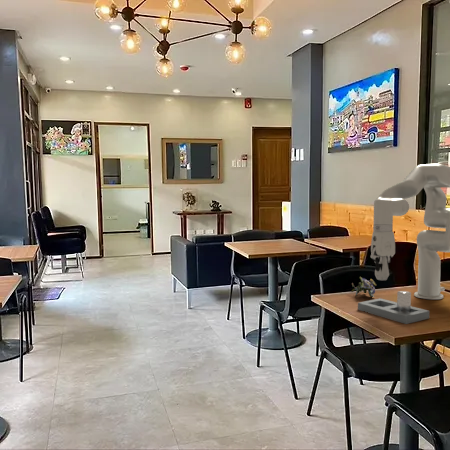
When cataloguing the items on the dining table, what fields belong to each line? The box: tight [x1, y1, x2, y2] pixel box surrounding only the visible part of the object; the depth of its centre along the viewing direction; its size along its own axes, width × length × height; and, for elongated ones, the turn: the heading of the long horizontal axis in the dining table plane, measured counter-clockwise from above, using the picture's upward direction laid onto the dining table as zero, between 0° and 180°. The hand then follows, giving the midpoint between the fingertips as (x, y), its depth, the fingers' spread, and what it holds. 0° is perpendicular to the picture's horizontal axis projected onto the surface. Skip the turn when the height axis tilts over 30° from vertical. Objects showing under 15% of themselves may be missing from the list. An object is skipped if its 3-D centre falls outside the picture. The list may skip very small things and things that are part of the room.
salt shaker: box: [374, 255, 390, 281], centre depth 185 cm, size 6×6×13 cm
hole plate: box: [357, 297, 430, 325], centre depth 182 cm, size 14×24×3 cm, turn 30°
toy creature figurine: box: [351, 276, 377, 298], centre depth 210 cm, size 11×11×12 cm
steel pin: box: [396, 290, 412, 314], centre depth 177 cm, size 5×5×10 cm
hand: (382, 271), depth 185 cm, fingers closed on salt shaker, 3 cm apart
